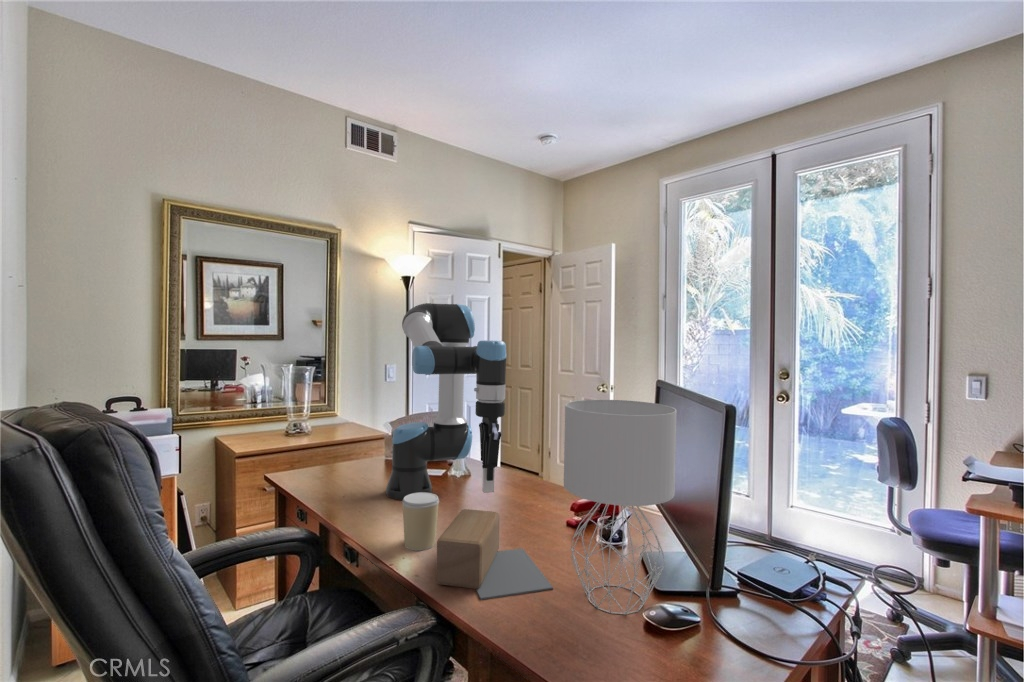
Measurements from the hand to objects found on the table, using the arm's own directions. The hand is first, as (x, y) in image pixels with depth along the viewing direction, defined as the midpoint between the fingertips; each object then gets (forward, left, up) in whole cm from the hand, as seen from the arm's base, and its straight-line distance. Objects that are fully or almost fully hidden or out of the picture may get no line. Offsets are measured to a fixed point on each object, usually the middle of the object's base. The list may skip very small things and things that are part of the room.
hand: (488, 491), depth 126 cm
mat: (+15, 0, -14) cm, 20 cm away
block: (+2, -2, -9) cm, 9 cm away
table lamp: (+32, +19, -14) cm, 40 cm away
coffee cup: (-5, -16, -14) cm, 22 cm away
